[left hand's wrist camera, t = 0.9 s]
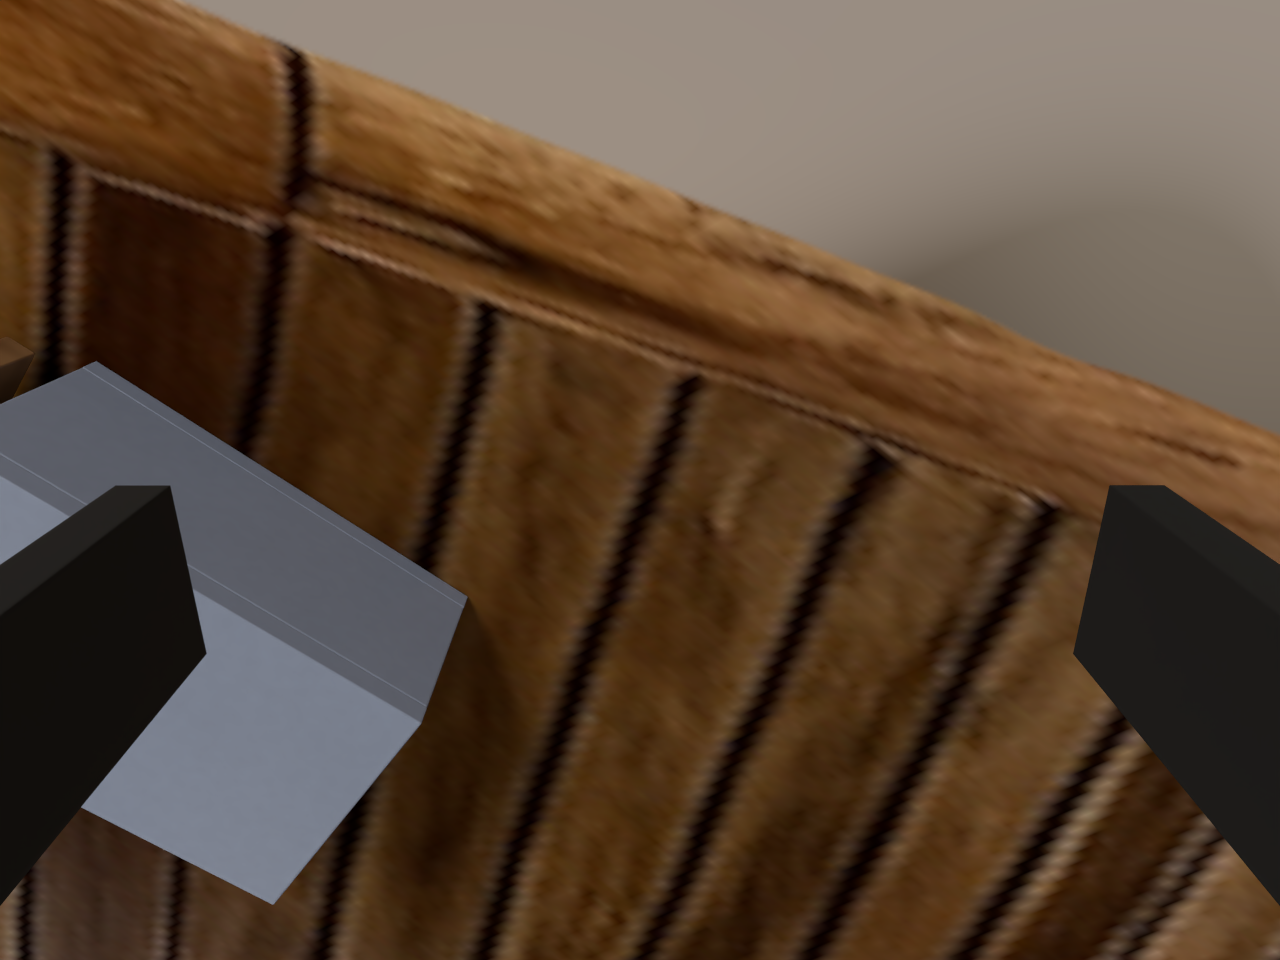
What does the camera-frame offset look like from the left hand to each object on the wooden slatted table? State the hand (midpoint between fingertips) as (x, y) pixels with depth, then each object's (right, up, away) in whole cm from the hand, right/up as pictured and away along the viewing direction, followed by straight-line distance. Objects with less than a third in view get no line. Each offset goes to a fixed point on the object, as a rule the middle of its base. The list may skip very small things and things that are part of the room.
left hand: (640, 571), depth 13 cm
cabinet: (-19, -3, +28) cm, 33 cm away
